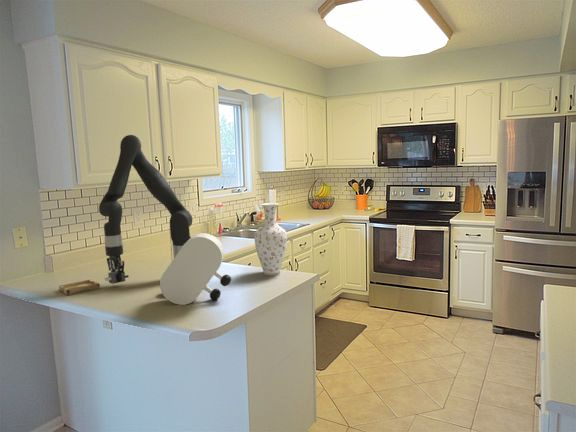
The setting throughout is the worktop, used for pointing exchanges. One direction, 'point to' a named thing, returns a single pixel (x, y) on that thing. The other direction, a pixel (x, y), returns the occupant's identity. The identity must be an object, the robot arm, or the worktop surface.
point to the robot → (194, 270)
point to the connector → (113, 279)
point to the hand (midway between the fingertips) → (117, 280)
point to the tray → (79, 287)
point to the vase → (270, 242)
